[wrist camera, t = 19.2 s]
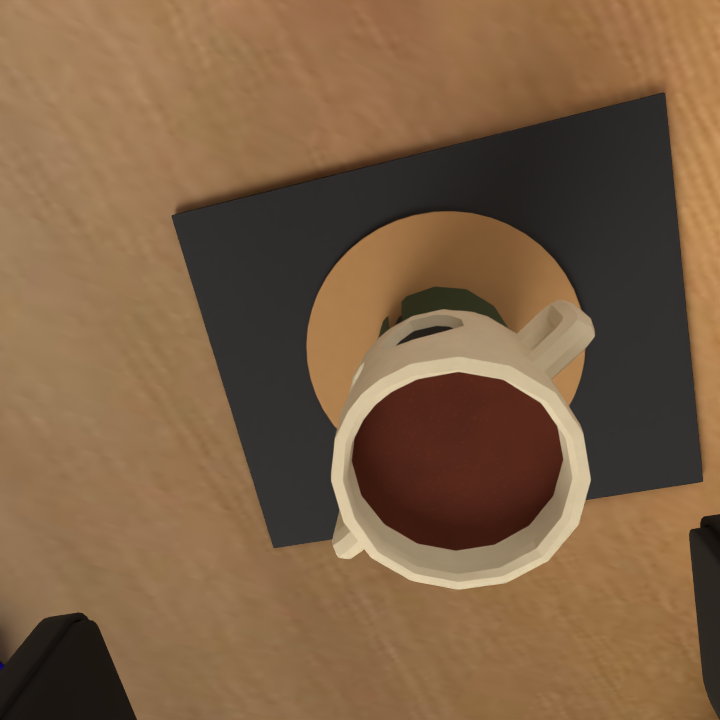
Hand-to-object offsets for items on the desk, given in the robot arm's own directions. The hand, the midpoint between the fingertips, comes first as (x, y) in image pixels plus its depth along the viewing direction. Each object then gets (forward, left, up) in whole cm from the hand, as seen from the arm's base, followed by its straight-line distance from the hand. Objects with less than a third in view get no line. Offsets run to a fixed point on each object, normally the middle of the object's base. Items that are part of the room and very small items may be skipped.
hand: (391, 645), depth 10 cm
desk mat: (+1, -1, -21) cm, 21 cm away
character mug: (+1, -1, -21) cm, 21 cm away
